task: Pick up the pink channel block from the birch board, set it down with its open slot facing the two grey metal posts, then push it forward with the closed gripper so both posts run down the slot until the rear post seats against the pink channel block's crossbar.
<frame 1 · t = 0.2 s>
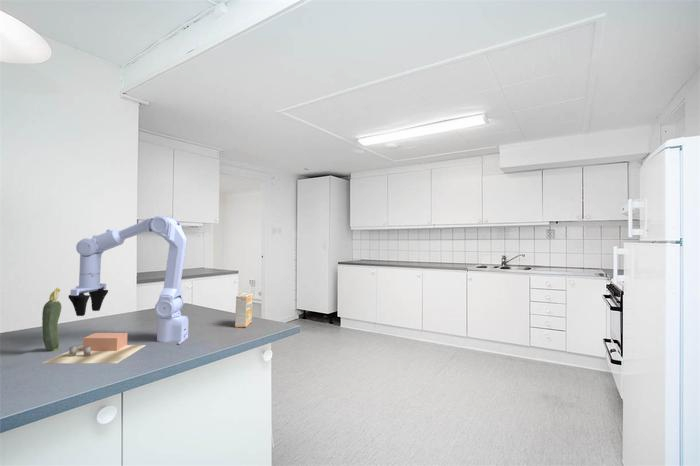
hand: (88, 313, 115), 10 cm above the worktop, fingers open, 7 cm apart
pink channel block: (105, 347, 107), point 1 cm above the worktop, touching board
supplement box: (243, 325, 142), on the worktop
board: (98, 356, 102), on the worktop
vegetable: (50, 353, 104), on the worktop
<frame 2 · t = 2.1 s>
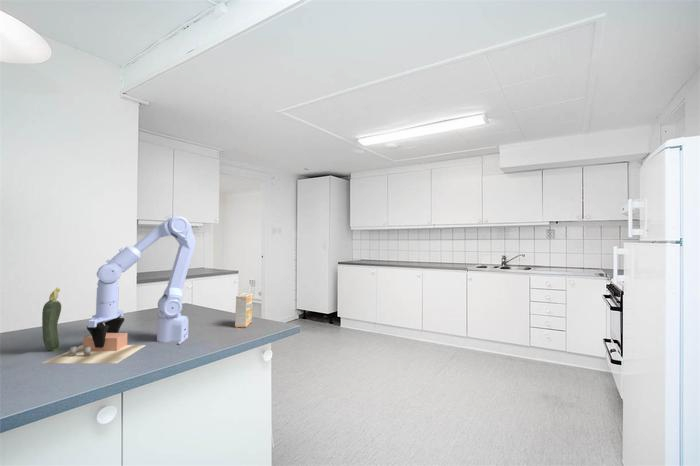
hand: (105, 344, 107), 2 cm above the worktop, fingers closed on pink channel block, 6 cm apart
pink channel block: (105, 347, 107), point 1 cm above the worktop, touching board, gripper
everything else where it was.
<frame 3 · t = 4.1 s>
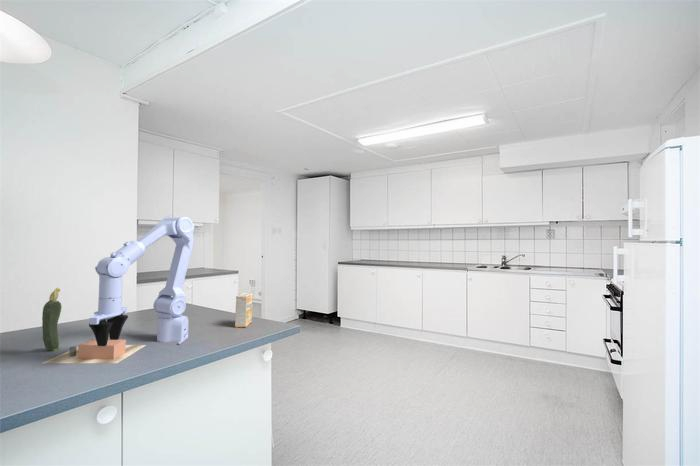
hand: (108, 342, 100), 5 cm above the worktop, fingers closed on pink channel block, 5 cm apart
pink channel block: (102, 355, 100), point 1 cm above the worktop, touching board, gripper
everything else where it was.
when the fingers open (3 cm above the worktop, at t = 5.0 s): pink channel block stays where it is, resting on board.
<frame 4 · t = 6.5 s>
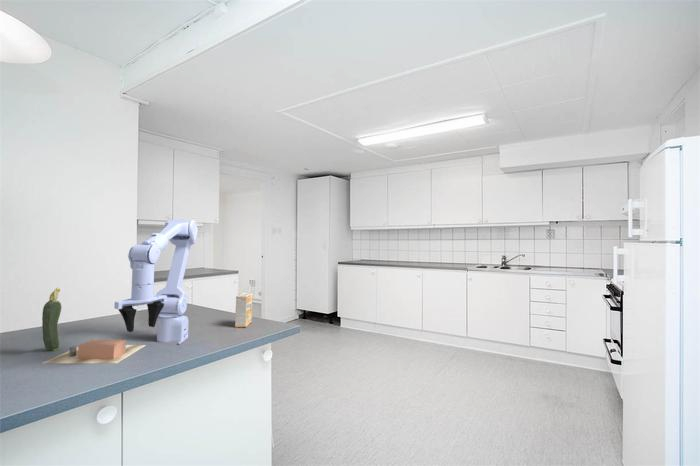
hand: (141, 328, 101), 9 cm above the worktop, fingers open, 6 cm apart
pink channel block: (102, 355, 100), point 1 cm above the worktop, touching board
everything else where it was.
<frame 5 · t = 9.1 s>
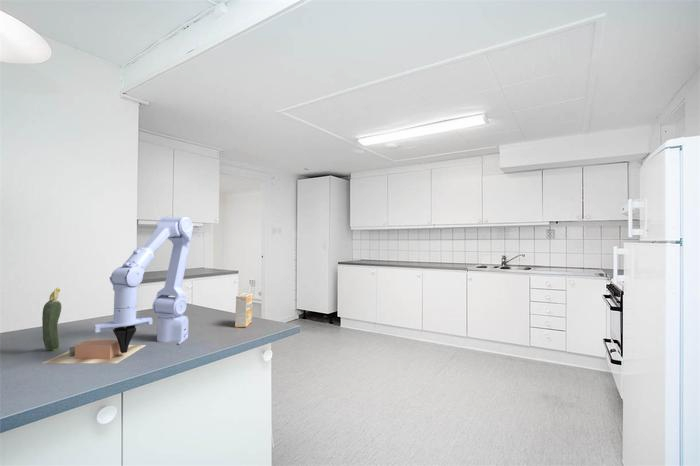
hand: (123, 352, 101), 2 cm above the worktop, fingers closed
pink channel block: (99, 355, 100), point 1 cm above the worktop, touching board, gripper
everything else where it was.
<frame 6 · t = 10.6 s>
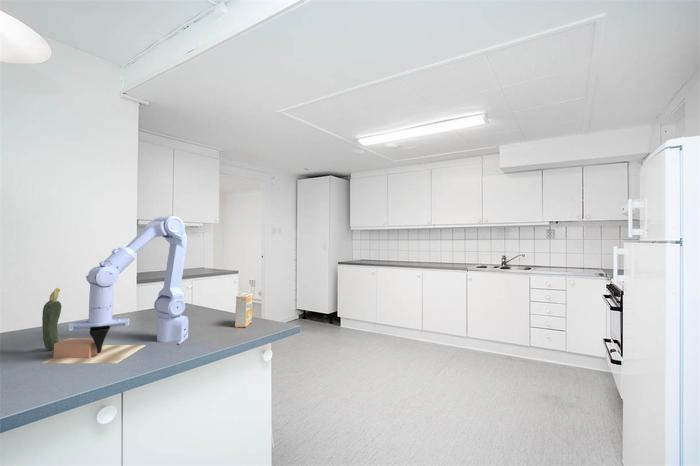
hand: (99, 352, 100), 2 cm above the worktop, fingers closed
pink channel block: (78, 354, 101), point 1 cm above the worktop, touching board, gripper
everything else where it was.
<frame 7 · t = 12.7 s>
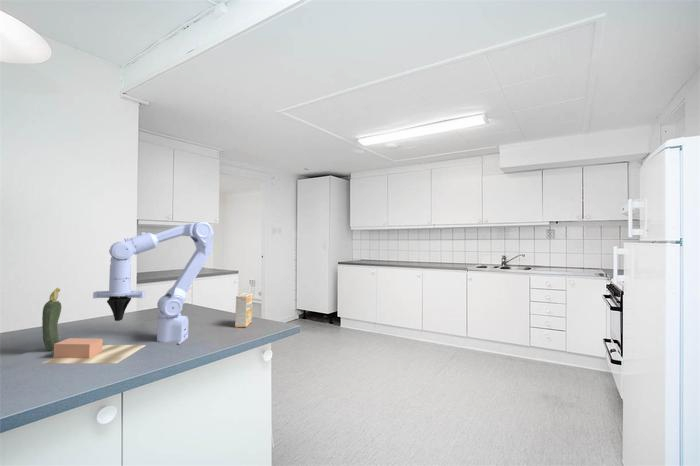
hand: (118, 320, 109), 9 cm above the worktop, fingers closed
pink channel block: (78, 354, 101), point 1 cm above the worktop, touching board
everything else where it was.
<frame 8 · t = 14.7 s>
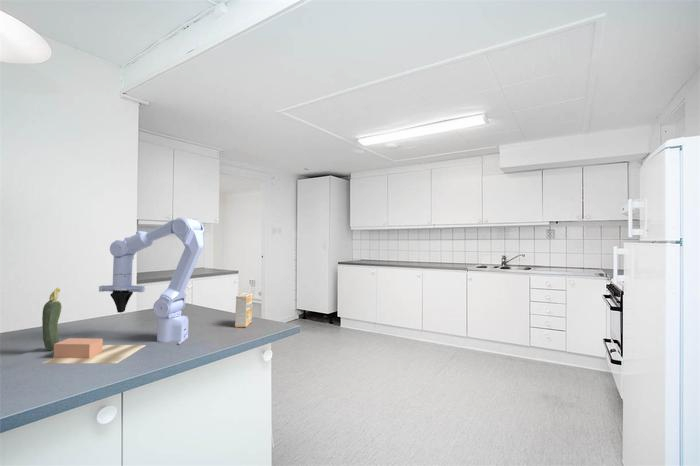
hand: (121, 311, 120), 9 cm above the worktop, fingers closed
nothing on the worktop moved.
at the end: pink channel block 0.9 cm from the target spot on the board, point 0.8 cm above the board's base; pink channel block tilted 0°; the gripper is holding nothing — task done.
